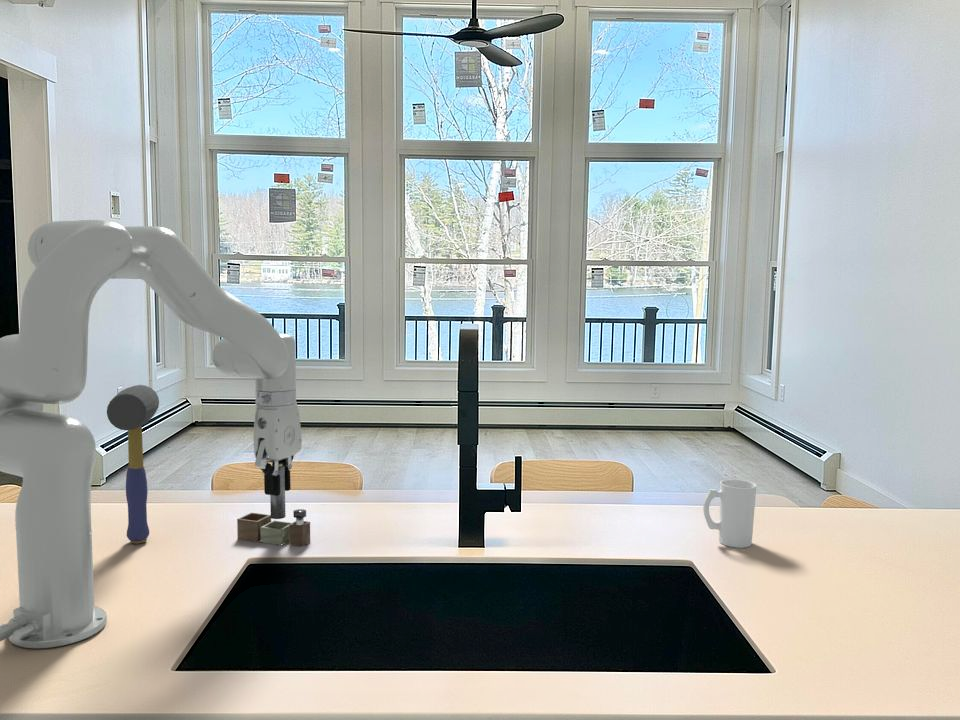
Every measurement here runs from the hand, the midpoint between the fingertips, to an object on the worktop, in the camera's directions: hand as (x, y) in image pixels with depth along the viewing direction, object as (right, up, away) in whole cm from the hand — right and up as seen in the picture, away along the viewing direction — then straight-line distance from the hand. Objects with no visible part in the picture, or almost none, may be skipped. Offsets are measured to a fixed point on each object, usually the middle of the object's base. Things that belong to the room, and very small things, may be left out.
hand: (277, 491), depth 154 cm
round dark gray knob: (+4, -10, -1) cm, 11 cm away
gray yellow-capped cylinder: (0, -5, +1) cm, 5 cm away
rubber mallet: (-26, -10, -1) cm, 28 cm away
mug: (+88, -11, +4) cm, 89 cm away
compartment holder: (0, -10, +1) cm, 10 cm away
